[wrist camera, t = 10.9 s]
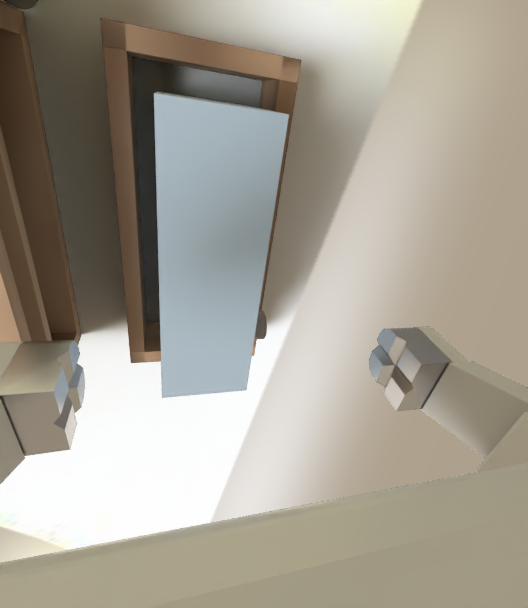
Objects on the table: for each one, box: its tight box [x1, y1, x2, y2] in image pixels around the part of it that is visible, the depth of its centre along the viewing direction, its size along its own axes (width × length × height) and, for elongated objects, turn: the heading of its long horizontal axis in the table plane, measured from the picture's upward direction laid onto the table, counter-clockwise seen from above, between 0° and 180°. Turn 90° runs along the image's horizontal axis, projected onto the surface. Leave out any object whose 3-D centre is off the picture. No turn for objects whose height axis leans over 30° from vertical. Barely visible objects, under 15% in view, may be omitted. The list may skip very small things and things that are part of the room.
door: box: [154, 91, 289, 398], centre depth 16 cm, size 5×12×8 cm, turn 171°
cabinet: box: [0, 0, 301, 363], centre depth 14 cm, size 18×17×8 cm
